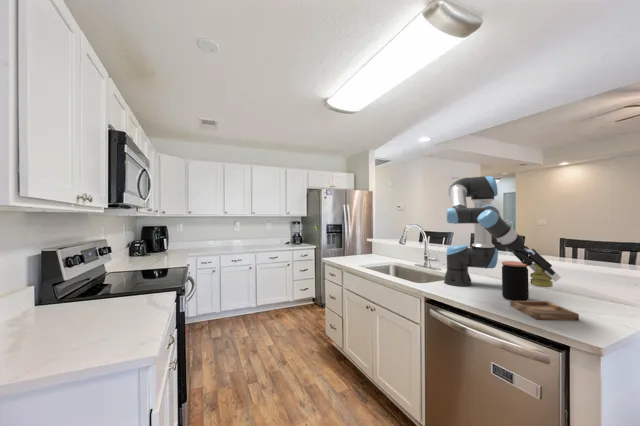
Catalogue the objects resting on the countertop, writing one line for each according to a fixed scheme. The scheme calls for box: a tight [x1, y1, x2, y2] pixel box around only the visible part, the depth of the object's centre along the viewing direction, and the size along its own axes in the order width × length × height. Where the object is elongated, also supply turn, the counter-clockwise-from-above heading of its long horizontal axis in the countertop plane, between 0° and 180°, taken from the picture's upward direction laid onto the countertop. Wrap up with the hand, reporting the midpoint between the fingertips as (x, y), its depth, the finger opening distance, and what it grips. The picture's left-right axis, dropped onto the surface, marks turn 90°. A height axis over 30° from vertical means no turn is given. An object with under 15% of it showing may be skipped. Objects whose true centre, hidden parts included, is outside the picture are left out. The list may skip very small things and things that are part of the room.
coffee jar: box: [501, 260, 530, 302], centre depth 133 cm, size 11×11×18 cm
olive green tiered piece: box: [529, 262, 554, 288], centre depth 114 cm, size 7×7×10 cm
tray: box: [510, 300, 580, 321], centre depth 114 cm, size 16×16×2 cm
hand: (550, 277), depth 113 cm, fingers closed on olive green tiered piece, 7 cm apart
